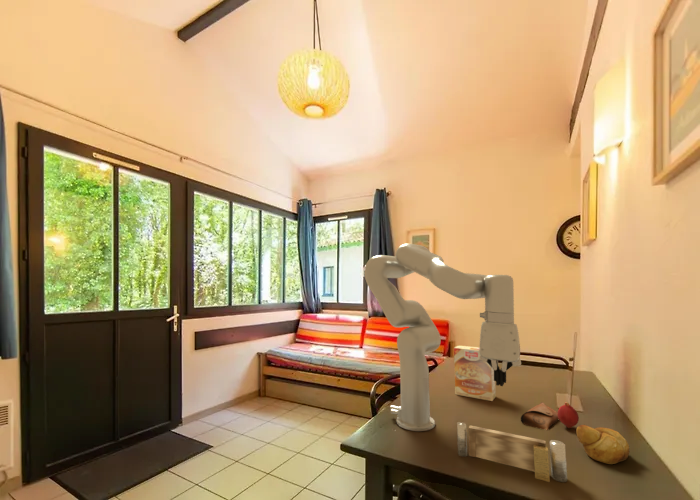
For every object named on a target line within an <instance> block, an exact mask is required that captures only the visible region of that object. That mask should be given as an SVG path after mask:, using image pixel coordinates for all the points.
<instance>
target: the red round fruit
mask: <svg viewBox="0 0 700 500" xmlns="http://www.w3.org/2000/svg"><path fill="white" fill-rule="evenodd" d="M557 412H558V414H557V415H558V418H559V420H558V421H560V423H562V424H563V425H564V426H565V427H566V428H567V429H572V428H574V427H575V426H576V425H577V424H578V423H579V420H580V419H579V413H578V411H577V410H576V409H575V408H574V407H573V406H571V404H570V403H569V402H567V401H566V402H564V404H563V405H561V406H559V408H558V410H557Z"/></svg>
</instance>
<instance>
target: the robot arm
mask: <svg viewBox="0 0 700 500" xmlns="http://www.w3.org/2000/svg"><path fill="white" fill-rule="evenodd" d="M413 273H416V274H417V275H419V276H422V277H424V278H426V279H427V280H429V282H430V283H432V284H433V285H434V286H435V287H436V288H438V289H439V290H441V291H443V292H444V293H447V294H449V295H451V296H453V297H456V298H457V299H461V300H475V299H476V300H477V299H478V300H479V299H484V312H479V318H482V319H484V321H482V322H481V325H480V326H481V327H480V333H479V334H480V335H479V348H480V349H479V351H480V360H481V361H484V362H487V363H488V364H489V365H490V366H491V367H492V369H493V370H494V381H495V386H500V387H503V386H505V385H504V384H506V383H507V371H508V370H509V369H510V368H512V367H520V366H521V365H522V360H521V346H520V345H521V343H520V333H519V330H518V329H519V328H518V325H517V324H516V323H515V308H514V306H515V303H514V302H515V300H514V299H515V298H514V292H515V291H514V290H515V289H514V279H513V277H512V276H511V275H509V274H489V275H488V274H487V275H486V274H480V273H469V272H468V273H467V272H466V273H465V272H462V271H460V270H457V269H455V268H453V267H452V266H449V265H448V264H445V263H444V259H443V257H442V256H441V255H438V254H435V253H433V252H432V251H430V249H429V248H427V247H426V246H424V245H421V244H416V243H415V244H414V243H403V244H401V245H399V246H398V248H397V249H396V251H395V256H394V255H385V254H379V255H375V256H372V257H370V258H369V259H368V261H367V262H366V263H365V268H364V278H365V281H366V284H367V286H368V288H369V290H370V291H371V293H372V294H373V296H374V298H375V299H376V300H377V303H378V305H379V306H380V308H381V311H382V312H383V314H384V315H385V318H386V319H387V321H388V323H389V324H390V325H391V326H392V327H394V328H404V329H402V330H401V331H400V333H398V336H397V338H396V345H397V346H396V347H397V352H398V356H399V357H398V358H399V374H400V375H399V377H400V378H399V380H400V405H399V406H397V405H392V404H391V405H390V407H389V411H390V414H391V415H397V417H396V424H397V425H398V426H399V427H400V428H403V429H404V430H408V431H413V432H425V431H430V430H432V429H434V427H435V426H436V422H435V419H434V418H433V417H431V413H430V412H431V411H430V410H431V409H430V407H431V405H430V403H431V402H430V374H429V370H430V369H429V364H428V361H427V358H426V356H425V355H426V354H428V353H432V352H435V351H437V349H439V347H440V345H441V338H442V337H441V334H440V332H439V330H438V328H437V326H436V324H435V323H434V321H433V320H432V318H431V317H430V314H428V312H427V310H426V309H425V308H424V306H423V305H422V304H421V303H420V302H418V301H416V300H413V299H407V300H406V299H404V298H403V296H402V295H401V293H400V292H399V290H398V289H397V287H396V285H394V284H393V283H392V282H391V281H390V280H389V279H401V278H403V277H406V276H409V275H410V274H413ZM499 361H502V362H501V363H502V364H501V368H500V366H499Z"/></svg>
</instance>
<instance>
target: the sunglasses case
mask: <svg viewBox="0 0 700 500" xmlns="http://www.w3.org/2000/svg"><path fill="white" fill-rule="evenodd" d="M557 414H558V411H556V410H555V409H553V408H551V407H550V406H548V405H546V404H545V403H544V402H543V401H541V402H540V403H539V404H537V405H535V406H534V407H532V408H530V409H528V410H527V411H525V412H523V414H522V415H521V417H520V422H521V423H522V425H525V424H526V426H530V427H533V428H536V427H537V429H540V428H541V430H544V429H546V430H545V431H549V430H550V428H549V427H550V426H551V425H552V424H553V423H554V424H556V423H557V422H558V421H559V420H558V419H559V418H558V415H557ZM557 420H558V421H557ZM556 421H557V422H556ZM554 424H553V425H554ZM553 425H552V426H553ZM552 426H551V427H552ZM548 429H549V430H548Z"/></svg>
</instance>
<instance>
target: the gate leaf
mask: <svg viewBox="0 0 700 500" xmlns="http://www.w3.org/2000/svg"><path fill="white" fill-rule="evenodd" d="M546 442H547V441H546V440H544V439H539V438H534V437H530V436H524V435H520V434H514V433H510V432H505V431H501V430H494V429H490V428H484V427H481V426H476V425H471V424H470V425H469V426H468V446H469V447H468V449H469V450H468V454H469V457H474V458H480V459H483V460H488V461H492V462H495V463H498V464H499V463H500V464H504V465H507V466H512V467H516V468H520V469H523V470H528V471H532V472H535V465H534V445H538V446H543V447H547V446H546V445H547V444H546Z"/></svg>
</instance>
